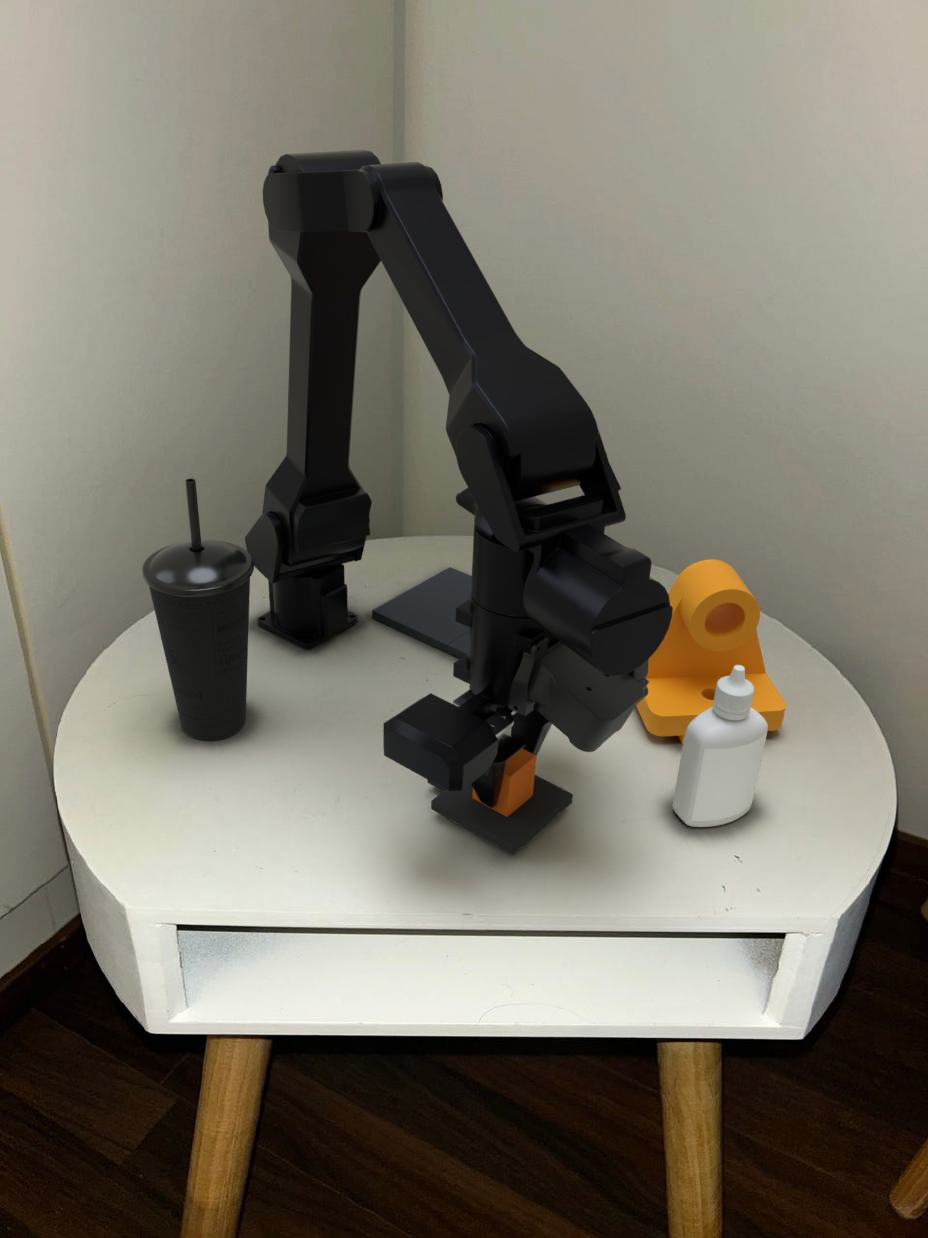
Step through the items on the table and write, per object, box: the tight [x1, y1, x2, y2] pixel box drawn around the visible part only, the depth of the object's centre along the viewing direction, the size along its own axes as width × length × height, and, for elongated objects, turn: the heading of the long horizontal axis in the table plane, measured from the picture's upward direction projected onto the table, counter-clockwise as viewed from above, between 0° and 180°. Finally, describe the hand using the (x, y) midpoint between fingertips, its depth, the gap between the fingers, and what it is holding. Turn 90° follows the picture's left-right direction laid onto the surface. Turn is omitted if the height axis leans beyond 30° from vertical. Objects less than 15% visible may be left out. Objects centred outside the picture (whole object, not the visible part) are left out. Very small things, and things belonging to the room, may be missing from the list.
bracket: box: [635, 558, 787, 745], centre depth 85 cm, size 11×7×12 cm, turn 98°
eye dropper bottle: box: [672, 665, 769, 828], centre depth 75 cm, size 4×6×12 cm
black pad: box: [426, 749, 574, 856], centre depth 76 cm, size 9×7×4 cm
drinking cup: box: [141, 477, 255, 742], centre depth 79 cm, size 8×8×20 cm
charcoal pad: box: [371, 566, 472, 659], centre depth 99 cm, size 11×11×1 cm
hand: (502, 792), depth 76 cm, fingers closed on black pad, 3 cm apart
